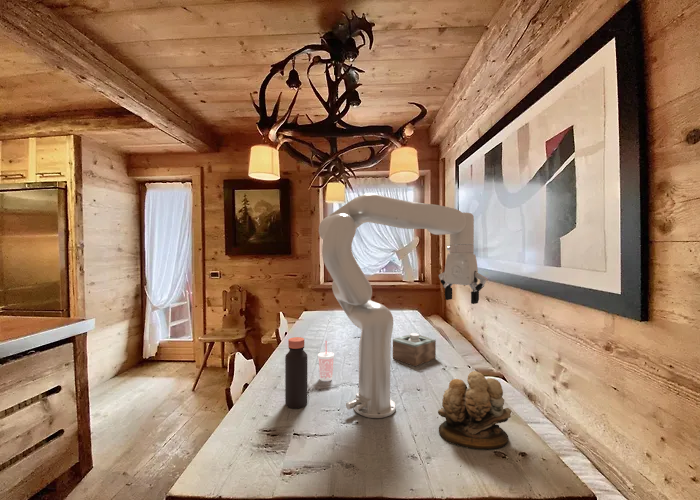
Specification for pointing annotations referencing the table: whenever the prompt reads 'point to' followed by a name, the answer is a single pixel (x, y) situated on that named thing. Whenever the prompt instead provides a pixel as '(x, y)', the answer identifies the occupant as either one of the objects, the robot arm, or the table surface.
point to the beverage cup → (326, 364)
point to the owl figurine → (474, 413)
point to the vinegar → (296, 374)
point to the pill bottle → (414, 337)
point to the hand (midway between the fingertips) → (461, 301)
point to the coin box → (414, 350)
